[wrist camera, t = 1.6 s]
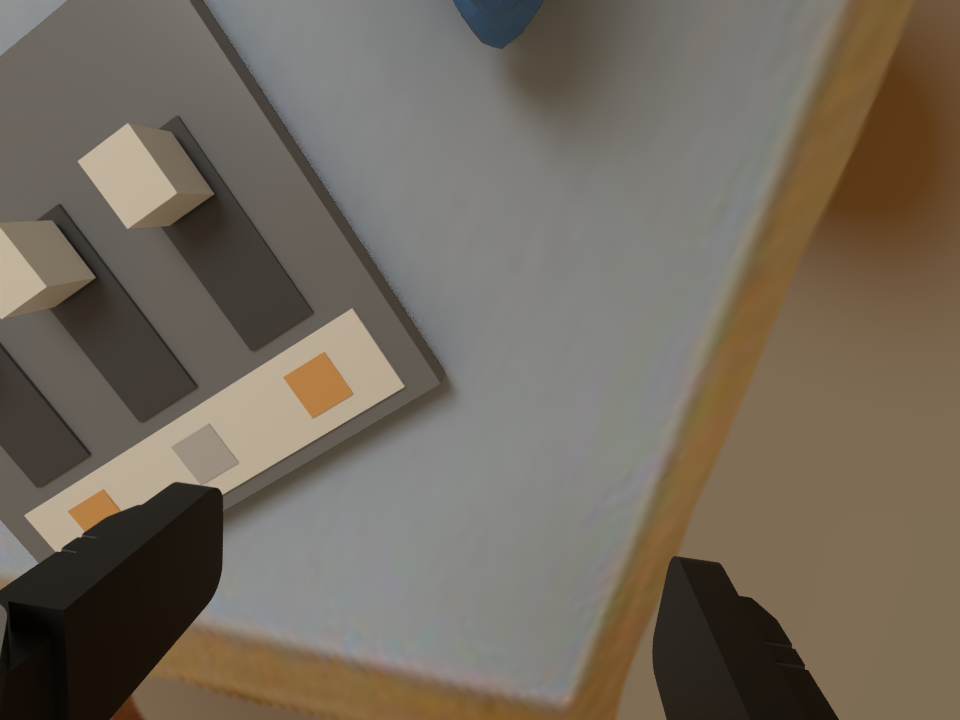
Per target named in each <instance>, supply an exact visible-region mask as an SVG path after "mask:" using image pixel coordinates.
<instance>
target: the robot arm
mask: <svg viewBox="0 0 960 720" xmlns="http://www.w3.org/2000/svg"><path fill="white" fill-rule="evenodd" d="M222 556H223V495H222V492H221V491H220V489H219V488H216V487H209V486H202V485H195V484H189V483H182V482H174V483H172V484H170V485H169V486H167V487H166V488H165V489H163V490H162V491H160V492H159V493H158V494H156V495H155V496H153V497H152V498H151V499H149V500H148V501H147V502H145V503H144V504H142V505H136V506H133V507H131V508H128V509H126V510H123V511H121V512H118V513H116V514H113V515H110V516H108V517H106V518H104V519H103V520H101V521H100V522H99V523H97V524H96V525H94V526H93V527H91V528H90V529H88V530H87V531H85V532H84V533H83V534H82V537H81V538H80V537H77V538H75V539H74V540H72V541H71V542H70V543H68V544H67V545H65V546H64V547H62V550H61V552H57V551H56V552H55V553H54V554H52V555H51V556H49V557H48V558H46V559H45V560H43V561H42V562H40V563H39V564H38V565H36V566H35V567H33V568H32V569H30V570H29V571H27V572H26V573H25V574H23V575H22V576H20V577H19V578H17V579H16V580H14V581H13V582H11V583H10V584H9V585H7V586H6V587H4V588H3V589H1V590H0V720H110V719H111V717H112V716H113V715H114V714H115V713H116V712H117V710H118V709H119V708H120V707H121V706H122V704H123V703H124V702H125V701H126V700H127V699H128V697H129V696H130V695H131V694H132V693H133V692H134V690H135V689H136V688H137V687H138V686H139V685H140V683H141V682H142V681H143V680H144V679H145V677H146V676H147V675H148V674H149V673H150V672H151V670H152V669H153V668H154V667H155V666H156V665H157V663H158V662H159V661H160V660H161V659H162V657H163V656H164V655H165V654H166V653H167V652H168V650H169V649H170V648H171V647H172V646H173V645H174V643H175V642H176V641H177V640H178V639H179V638H180V636H181V635H182V634H183V633H184V632H185V630H186V629H187V628H188V627H189V626H190V625H191V623H192V622H193V621H194V620H195V619H196V618H197V616H198V615H199V614H200V613H201V612H202V610H203V609H204V608H205V607H206V606H207V605H208V603H209V602H210V601H211V599H212V597H213V596H214V594H215V591H216V589H217V587H218V584H219V581H220V577H221V572H222ZM652 652H653V669H654V674H655V678H656V682H657V686H658V689H659V693H660V697H661V700H662V704H663V707H664V711H665V715H666V718H667V720H839V719H838V717H837V716H836V714H835V713H834V711H833V709H832V708H831V706H830V705H829V703H828V701H827V700H826V698H825V697H824V695H823V693H822V692H821V690H820V689H819V687H818V686H817V684H816V682H815V680H814V679H813V677H812V676H811V674H810V672H809V671H808V670H805V664H804V663H803V661H802V660H801V658H800V657H799V655H798V654H797V652H796V650H795V649H792V643H791V642H790V640H789V639H788V637H787V635H786V634H785V632H784V631H783V629H782V627H781V626H780V624H779V623H778V621H777V620H776V619H775V618H774V617H773V616H772V615H771V614H769V613H768V612H767V611H766V610H765V609H764V608H763V607H761V606H760V605H759V604H758V603H757V602H756V601H754V600H753V599H752V598H749V597H742V596H739V595H738V594H737V592H736V590H735V588H734V586H733V584H732V583H731V581H730V579H729V577H728V576H727V574H726V572H725V570H724V568H723V567H722V565H721V564H720V563H718V562H710V561H704V560H697V559H690V558H684V557H677V556H675V557H673V558H672V559H671V561H670V563H669V566H668V570H667V575H666V579H665V584H664V589H663V594H662V598H661V603H660V608H659V613H658V618H657V622H656V627H655V632H654V637H653V651H652Z"/></svg>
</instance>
